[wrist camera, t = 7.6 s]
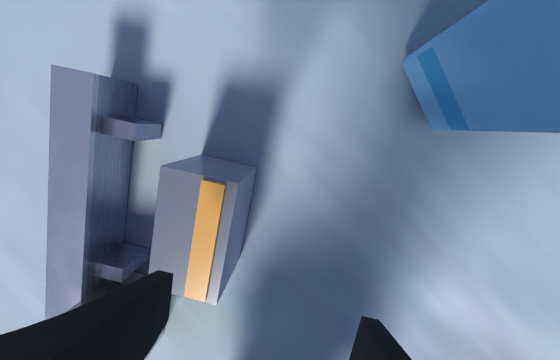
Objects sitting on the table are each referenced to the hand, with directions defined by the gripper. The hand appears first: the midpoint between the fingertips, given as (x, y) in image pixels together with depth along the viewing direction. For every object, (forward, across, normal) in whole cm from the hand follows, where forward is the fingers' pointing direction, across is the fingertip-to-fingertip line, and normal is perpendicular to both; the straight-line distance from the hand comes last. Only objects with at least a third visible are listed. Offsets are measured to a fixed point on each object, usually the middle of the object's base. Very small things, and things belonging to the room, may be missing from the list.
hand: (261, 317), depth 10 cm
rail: (+9, +11, +2) cm, 14 cm away
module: (+10, +4, 0) cm, 11 cm away
